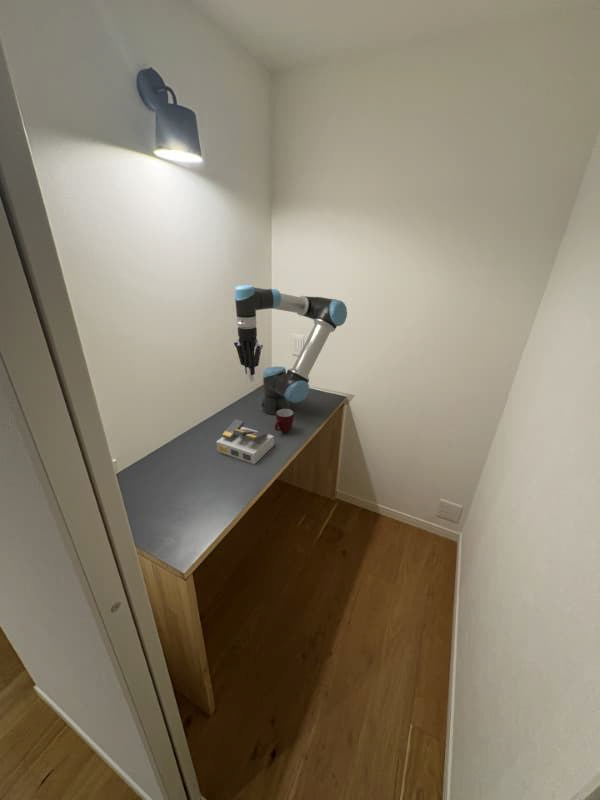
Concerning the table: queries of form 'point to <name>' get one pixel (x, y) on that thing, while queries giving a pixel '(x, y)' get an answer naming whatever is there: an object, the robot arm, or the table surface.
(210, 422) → the table surface
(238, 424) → the rocker
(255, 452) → the switch unit
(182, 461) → the table surface
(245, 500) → the table surface
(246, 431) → the rocker
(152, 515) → the table surface
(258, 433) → the rocker
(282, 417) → the mug
